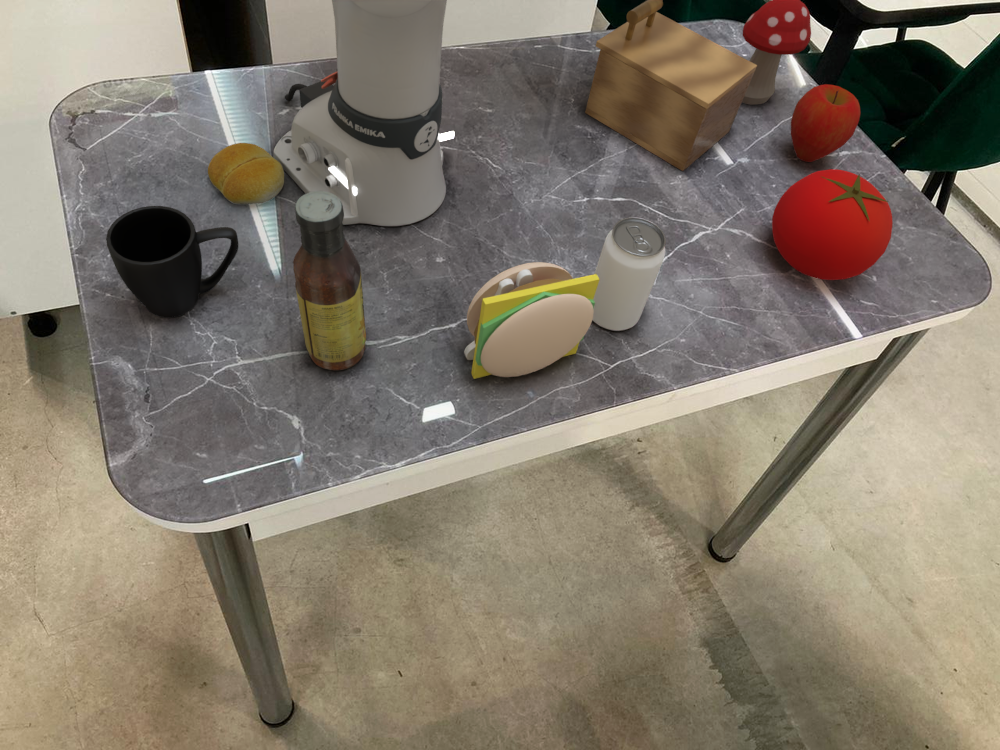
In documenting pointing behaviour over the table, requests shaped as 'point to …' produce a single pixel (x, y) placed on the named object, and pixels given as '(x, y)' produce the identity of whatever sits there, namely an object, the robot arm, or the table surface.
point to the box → (659, 112)
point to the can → (627, 272)
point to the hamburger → (528, 319)
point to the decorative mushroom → (774, 42)
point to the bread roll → (246, 174)
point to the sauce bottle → (328, 284)
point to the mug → (164, 258)
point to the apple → (823, 121)
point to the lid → (675, 55)
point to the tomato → (832, 225)
